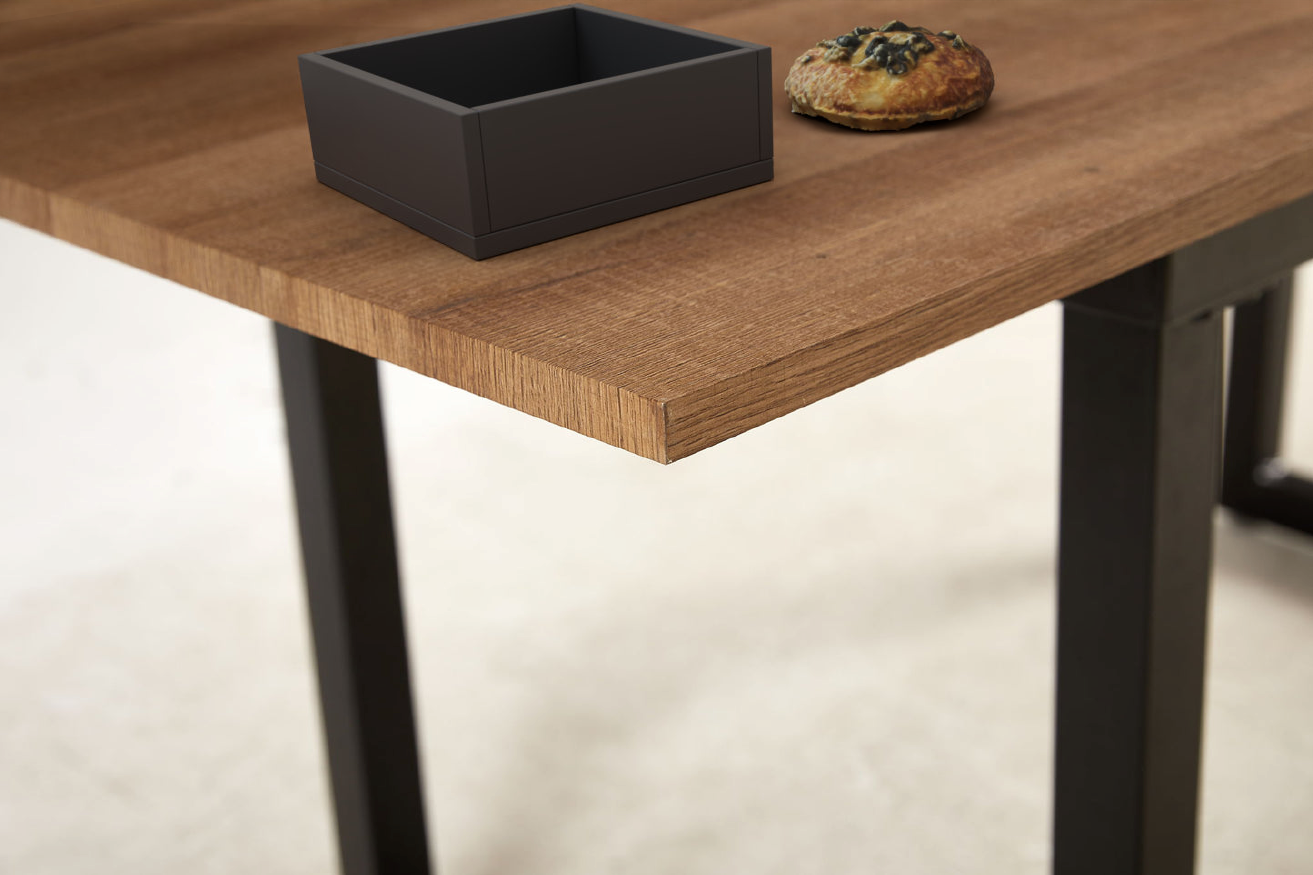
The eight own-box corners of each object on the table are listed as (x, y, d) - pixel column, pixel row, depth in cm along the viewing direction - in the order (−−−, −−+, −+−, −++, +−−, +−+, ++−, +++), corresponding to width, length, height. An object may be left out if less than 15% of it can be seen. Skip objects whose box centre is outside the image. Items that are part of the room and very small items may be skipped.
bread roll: (1037, 90, 81) (1032, -5, 79) (918, 170, 75) (908, 70, 72) (863, 73, 88) (853, -15, 86) (741, 145, 82) (726, 53, 80)
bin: (476, 261, 63) (460, 115, 60) (315, 180, 75) (296, 55, 72) (774, 179, 71) (772, 46, 68) (587, 117, 82) (578, 2, 80)
